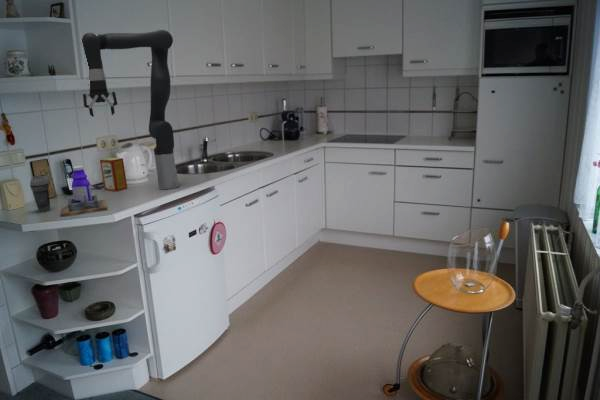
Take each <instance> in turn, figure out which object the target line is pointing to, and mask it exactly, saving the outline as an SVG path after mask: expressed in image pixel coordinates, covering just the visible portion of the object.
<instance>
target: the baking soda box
mask: <svg viewBox="0 0 600 400" xmlns="http://www.w3.org/2000/svg"><path fill="white" fill-rule="evenodd" d="M99 162H100V164H99V165H100V169H101V176H102V181H103V187H104V188H103V189H104V191H109V192H120V191H123V190H128V184H127V177H126V169H125V163H124V158H123V157H108V158H103V159H99Z"/></svg>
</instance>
